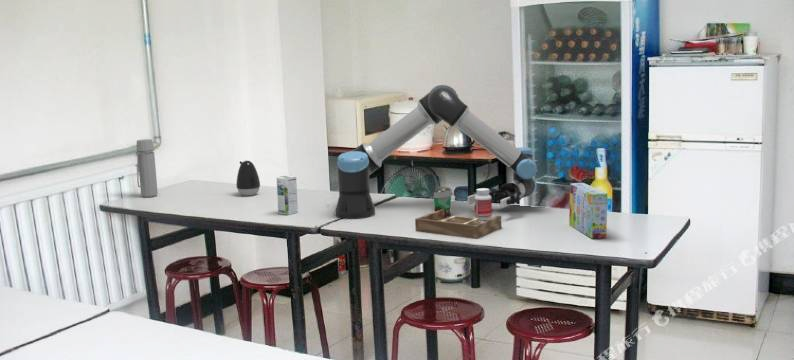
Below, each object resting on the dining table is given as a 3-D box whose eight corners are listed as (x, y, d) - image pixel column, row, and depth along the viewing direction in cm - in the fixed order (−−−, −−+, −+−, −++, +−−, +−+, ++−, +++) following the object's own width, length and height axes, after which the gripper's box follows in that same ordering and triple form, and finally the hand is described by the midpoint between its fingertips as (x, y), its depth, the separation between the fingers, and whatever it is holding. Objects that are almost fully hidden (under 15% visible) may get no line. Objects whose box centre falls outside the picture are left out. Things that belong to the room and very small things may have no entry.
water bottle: (150, 194, 381) (145, 138, 377) (162, 195, 376) (157, 139, 372) (133, 197, 374) (128, 141, 369) (145, 199, 369) (139, 142, 365)
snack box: (608, 238, 275) (608, 193, 273) (591, 239, 275) (591, 194, 272) (583, 224, 296) (583, 181, 293) (568, 225, 295) (568, 182, 292)
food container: (450, 219, 310) (450, 192, 308) (434, 219, 311) (433, 192, 309) (455, 212, 322) (454, 186, 320) (439, 212, 323) (438, 186, 321)
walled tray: (441, 220, 309) (441, 209, 308) (501, 227, 295) (501, 215, 294) (415, 230, 295) (415, 218, 294) (476, 238, 281) (476, 226, 280)
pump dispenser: (252, 191, 378) (249, 157, 375) (265, 194, 370) (263, 160, 368) (232, 195, 371) (229, 161, 368) (245, 198, 363) (242, 163, 361)
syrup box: (277, 213, 330) (275, 177, 328) (289, 211, 334) (287, 174, 332) (287, 215, 326) (284, 178, 324) (298, 212, 331) (296, 176, 328)
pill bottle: (495, 219, 308) (494, 189, 306) (482, 221, 305) (482, 191, 303) (484, 216, 313) (483, 187, 311) (471, 219, 310) (470, 189, 308)
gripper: (541, 204, 318) (515, 215, 301) (482, 198, 332) (455, 209, 315) (541, 184, 317) (515, 194, 300) (482, 179, 331) (454, 189, 314)
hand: (484, 202), depth 307 cm, fingers open, 13 cm apart
